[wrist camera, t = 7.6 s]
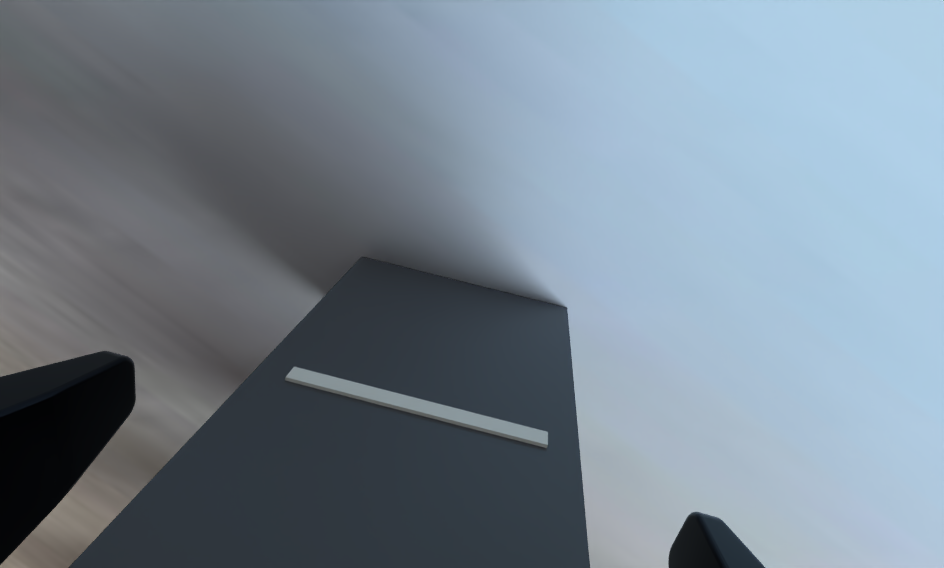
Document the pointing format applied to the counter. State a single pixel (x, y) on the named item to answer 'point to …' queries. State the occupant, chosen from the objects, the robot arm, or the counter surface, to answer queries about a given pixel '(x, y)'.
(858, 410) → the counter surface
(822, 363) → the counter surface
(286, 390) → the domino
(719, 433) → the counter surface
